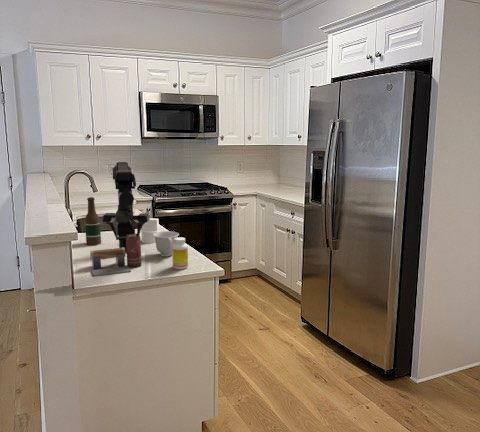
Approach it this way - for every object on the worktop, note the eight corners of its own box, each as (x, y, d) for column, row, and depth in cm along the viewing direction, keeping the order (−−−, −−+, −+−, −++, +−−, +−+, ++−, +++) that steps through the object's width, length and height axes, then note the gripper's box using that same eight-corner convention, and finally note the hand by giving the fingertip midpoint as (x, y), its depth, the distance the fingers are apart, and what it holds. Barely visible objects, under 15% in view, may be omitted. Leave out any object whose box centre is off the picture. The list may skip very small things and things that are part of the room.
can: (142, 263, 198) (141, 232, 195) (140, 268, 192) (138, 236, 189) (129, 263, 198) (127, 232, 195) (125, 268, 191) (124, 236, 188)
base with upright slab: (161, 239, 238) (160, 217, 236) (156, 243, 229) (155, 221, 227) (144, 238, 239) (143, 216, 236) (139, 243, 230) (138, 220, 228)
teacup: (157, 261, 201) (157, 240, 199) (151, 252, 214) (150, 232, 212) (183, 258, 205) (183, 237, 203) (175, 249, 219) (175, 230, 217)
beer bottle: (89, 246, 223) (86, 199, 218) (83, 243, 229) (80, 197, 224) (104, 243, 228) (101, 197, 223) (97, 240, 234) (95, 195, 229)
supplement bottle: (189, 269, 191) (188, 240, 188) (173, 270, 189) (173, 241, 186) (186, 264, 197) (186, 236, 194) (171, 265, 195) (170, 237, 193)
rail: (90, 258, 192) (90, 250, 191) (124, 254, 197) (123, 247, 196) (91, 260, 189) (90, 252, 188) (125, 256, 194) (125, 249, 193)
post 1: (92, 265, 194) (91, 253, 193) (99, 265, 195) (98, 253, 194) (93, 270, 188) (93, 257, 187) (101, 269, 190) (100, 256, 188)
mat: (91, 271, 186) (91, 270, 186) (128, 267, 192) (128, 266, 192) (93, 276, 181) (93, 275, 181) (130, 271, 187) (130, 270, 186)
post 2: (116, 263, 198) (115, 251, 197) (122, 262, 199) (122, 250, 198) (118, 267, 192) (117, 255, 191) (125, 266, 194) (124, 254, 192)
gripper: (96, 204, 178) (99, 242, 182) (143, 205, 178) (144, 243, 181) (105, 199, 189) (107, 235, 192) (149, 200, 189) (150, 235, 192)
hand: (127, 237), depth 189 cm, fingers open, 9 cm apart
